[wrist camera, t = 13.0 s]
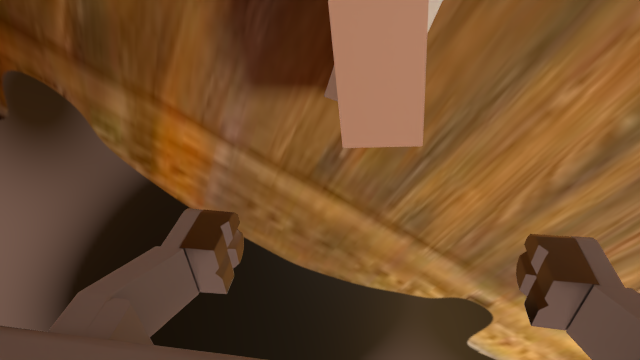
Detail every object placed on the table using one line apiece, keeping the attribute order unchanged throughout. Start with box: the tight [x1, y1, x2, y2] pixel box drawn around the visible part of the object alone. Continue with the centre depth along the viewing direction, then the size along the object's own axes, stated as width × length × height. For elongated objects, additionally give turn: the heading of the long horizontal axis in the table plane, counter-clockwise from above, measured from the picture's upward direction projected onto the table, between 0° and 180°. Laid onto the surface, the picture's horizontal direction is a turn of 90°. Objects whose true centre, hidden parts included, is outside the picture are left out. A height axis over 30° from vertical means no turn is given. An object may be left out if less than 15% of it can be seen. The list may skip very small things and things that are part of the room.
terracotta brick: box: [328, 0, 429, 148], centre depth 24 cm, size 5×10×5 cm, turn 7°
